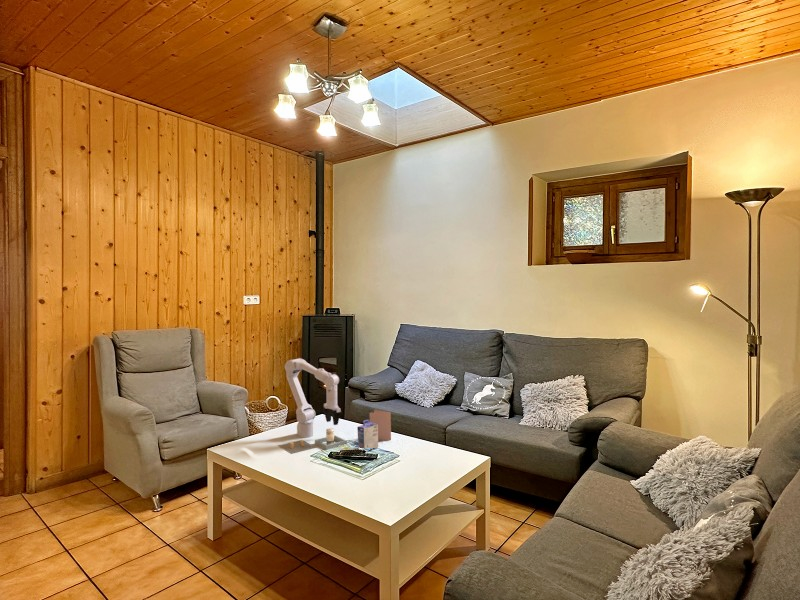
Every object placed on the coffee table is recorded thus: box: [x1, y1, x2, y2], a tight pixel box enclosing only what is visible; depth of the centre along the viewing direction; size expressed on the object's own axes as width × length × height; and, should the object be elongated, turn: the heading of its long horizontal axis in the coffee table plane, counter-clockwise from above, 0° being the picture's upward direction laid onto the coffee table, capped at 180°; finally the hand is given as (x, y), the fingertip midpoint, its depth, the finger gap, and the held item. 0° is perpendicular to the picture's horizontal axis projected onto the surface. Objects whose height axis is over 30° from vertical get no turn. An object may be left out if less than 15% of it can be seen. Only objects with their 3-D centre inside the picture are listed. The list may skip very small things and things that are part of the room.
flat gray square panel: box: [277, 439, 318, 455], centre depth 232 cm, size 16×14×4 cm
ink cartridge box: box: [357, 419, 379, 449], centre depth 231 cm, size 10×6×14 cm, turn 136°
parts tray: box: [314, 434, 348, 451], centre depth 235 cm, size 12×12×4 cm
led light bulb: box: [325, 428, 335, 445], centre depth 235 cm, size 4×4×8 cm
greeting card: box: [369, 409, 392, 441], centre depth 246 cm, size 11×7×15 cm, turn 54°
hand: (332, 423), depth 242 cm, fingers open, 7 cm apart
